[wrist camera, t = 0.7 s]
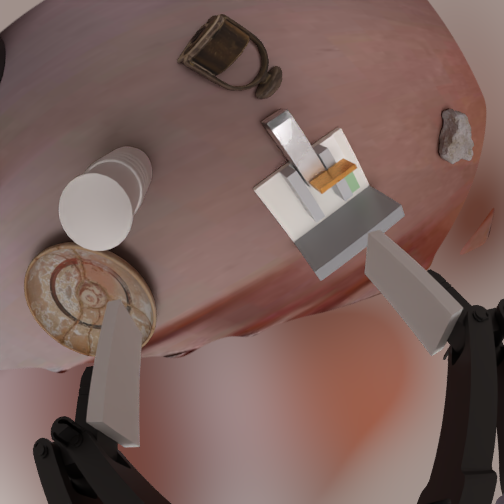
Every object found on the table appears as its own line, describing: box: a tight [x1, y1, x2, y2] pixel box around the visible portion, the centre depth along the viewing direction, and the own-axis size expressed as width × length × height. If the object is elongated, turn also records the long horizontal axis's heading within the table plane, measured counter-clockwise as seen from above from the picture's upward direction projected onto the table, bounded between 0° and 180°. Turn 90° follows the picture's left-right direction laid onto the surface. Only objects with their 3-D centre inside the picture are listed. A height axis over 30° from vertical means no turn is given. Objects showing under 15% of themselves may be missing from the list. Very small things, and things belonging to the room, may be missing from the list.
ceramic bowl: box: [24, 242, 157, 357], centre depth 37 cm, size 23×24×5 cm
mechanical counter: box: [177, 14, 282, 99], centre depth 24 cm, size 7×13×10 cm
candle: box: [59, 146, 152, 251], centre depth 25 cm, size 7×7×15 cm
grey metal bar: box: [261, 109, 357, 194], centre depth 31 cm, size 10×6×6 cm, turn 36°
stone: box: [439, 109, 474, 164], centre depth 35 cm, size 8×10×6 cm
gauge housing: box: [253, 127, 405, 281], centre depth 35 cm, size 12×15×9 cm
